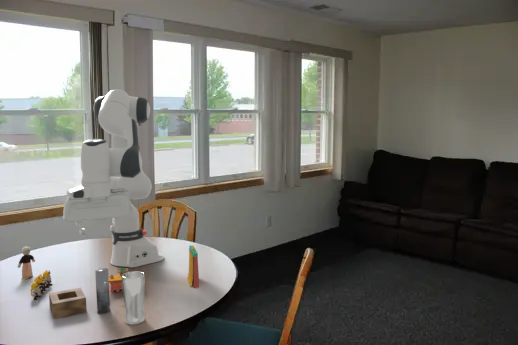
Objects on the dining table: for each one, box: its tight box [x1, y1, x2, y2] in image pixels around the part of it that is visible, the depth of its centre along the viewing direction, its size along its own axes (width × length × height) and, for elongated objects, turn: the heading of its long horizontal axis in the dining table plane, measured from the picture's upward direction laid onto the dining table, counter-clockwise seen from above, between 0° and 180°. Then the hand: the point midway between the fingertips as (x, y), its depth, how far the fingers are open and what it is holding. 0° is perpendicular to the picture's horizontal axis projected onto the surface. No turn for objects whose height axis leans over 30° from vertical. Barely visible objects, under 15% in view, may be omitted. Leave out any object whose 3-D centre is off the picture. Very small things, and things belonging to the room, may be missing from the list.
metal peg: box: [94, 267, 111, 315], centre depth 153 cm, size 4×4×14 cm
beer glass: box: [121, 270, 146, 326], centre depth 146 cm, size 7×7×15 cm
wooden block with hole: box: [48, 287, 88, 320], centre depth 155 cm, size 10×10×5 cm
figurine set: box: [30, 269, 53, 302], centre depth 170 cm, size 3×16×7 cm, turn 5°
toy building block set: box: [109, 245, 200, 293], centre depth 175 cm, size 12×35×14 cm, turn 107°
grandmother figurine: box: [17, 246, 36, 281], centre depth 184 cm, size 8×4×13 cm, turn 168°
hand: (98, 232), depth 151 cm, fingers open, 8 cm apart
